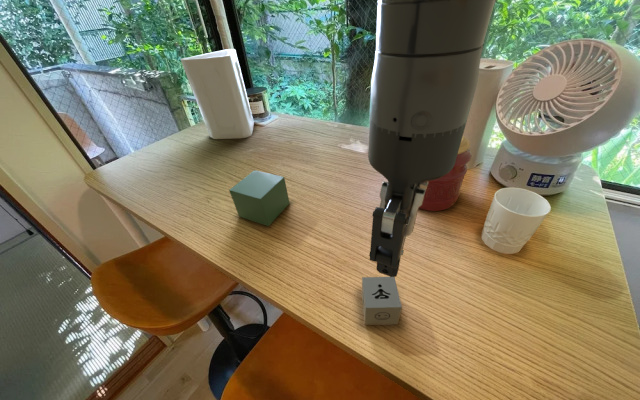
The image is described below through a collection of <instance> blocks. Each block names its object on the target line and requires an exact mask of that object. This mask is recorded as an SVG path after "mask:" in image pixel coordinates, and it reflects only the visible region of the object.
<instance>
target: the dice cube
mask: <svg viewBox="0 0 640 400" xmlns="http://www.w3.org/2000/svg"><path fill="white" fill-rule="evenodd" d="M361 302H362V303H361V304H362V311H363V312H362V313H363V320H364V321H363V323H364V325H365V326H369V325H376V326H377V325H399V321H400V318H401V312H402V308H403V307H402V303H401V298H400V293H399V289H398V285H397V281H396V277H390V276H363V277H361Z"/></svg>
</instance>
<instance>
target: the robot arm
mask: <svg viewBox="0 0 640 400" xmlns="http://www.w3.org/2000/svg"><path fill="white" fill-rule="evenodd" d="M495 4H496V0H377V6H376V27H375V29H376V30H375V51H374V52H375V53H374V61H373V62H374V63H373V68H372V74H371V81H370V94H369V95H370V96H369V97H370V98H369V122H368V123H369V125H368V126H369V127H368V149H367V150H368V153H367V159H368V162H369V164H370V166H371V167H372V168H373V169H374V170H375V172H377V173H379V174H380V175H381V176H383V178H385V179H386V180H387V181H386V180H383V181H382V184H381V186H380V187H381V188H380V192H379V198H380V203H379V206H376V207H375V209H374V210H373V211H372V222H371V223H372V224H371V225H372V226H371V237H370V249H369V250H370V251H369V253H368V254H369V255H368V256H369V261H372V262H375V263H376V271H377V272H378V273H379V274H382V275H385V276H386V277H395V278H396V277H397V276H398V273H399V269H400V263H401V259H402V258H401V257H402V256H403V255H404V252H405V250H404V247H405V243H406V238H407V236H410V235H412V233H413V232H414V229H415V224H416V220H417V216H418V212H419V209H420V208H419V207H420V206H421V205H422V204H423V200H424V196H425V191H426V189H427V187H428V183H429V181H431V180H435V179H438V178H440V177H443V176H444V175H446V174H447V173H449V172H450V171H451V170H452V168H453V167H454V165H455V161H456V158H457V154H458V151H459V147H460V144H461V140H462V136H464V133H465V130H466V127H467V126H466V125H467V123H468V118H469V116H470V115H469V114H470V111H471V108H472V104H473V100H474V96H475V93H476V89H477V85H478V81H479V73H480V66H481V65H480V64H481V58H482V53H483V48H484V46H483V45H484V44H485V41H486V37H487V34H488V30H489V25H490V22H491V18H492V16H493V11H494V7H495Z"/></svg>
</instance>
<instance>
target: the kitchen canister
mask: <svg viewBox="0 0 640 400" xmlns="http://www.w3.org/2000/svg"><path fill="white" fill-rule="evenodd" d="M470 147H471V141H470V140H469V139H468V138H467V137H466V136H464V135H463V136H462V140H461V144H460V147H459V151H458V154H457V158H456V161H455V165H454V167H453V168H452V170H451V171H450V172H449V173H447V174H446V175H444V176H443V177H440V178H438V179H435V180H431V181H429V183H428V187H427V189H426V191H425V196H424V200H423V204H422V205H421V206H420V207H419V208H418V209H420V210H424V211H429V212H430V211H432V212H433V211H434V212H436V211H444V210H447V209H449V208H451V207H453V206H454V205H455V204H456V202H457V201H458V199H459V197H460V194H461V187H462V184H463V182H464V178H465V175H466V174H467V172H468V166H467V164H468V163H469V162H470V161H471V159H472V155H473V154H472V151H471V150H470Z"/></svg>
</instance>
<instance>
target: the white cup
mask: <svg viewBox="0 0 640 400" xmlns="http://www.w3.org/2000/svg"><path fill="white" fill-rule="evenodd" d="M551 211H552V207H551V204H550V202H549V201H548V200H547V199H546V198H545V197H543V196H542V195H540V194H538V193H536V192H535V191H532V190H529V189H525V188H521V187H512V186H511V187H502V188H500V189H498V190H496V191H495V193H494V195H493V198H492V200H491V204H490V207H489V209H488V212H487V214H486V218H485V221H484V224H483V228H482V231H481V237H480V238H481V240H482V242H483V243H484V245H485V246H487V247H488V248H489V249H491V250H492V251H495V252H497V253H499V254H505V255H514V254H518V253H519V252H520V251H521V250H522V249H523V248H524V246H525V245H526V244H527V243H528V242H529V241H530V239H531V238H532V237H533V236H534V234H535V233H536V232H537V230H538V229H539V227H540V226H541V225H542V224H543V222H544V220H545V219H546V218H547V216H548V215H549V214H550V212H551Z"/></svg>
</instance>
